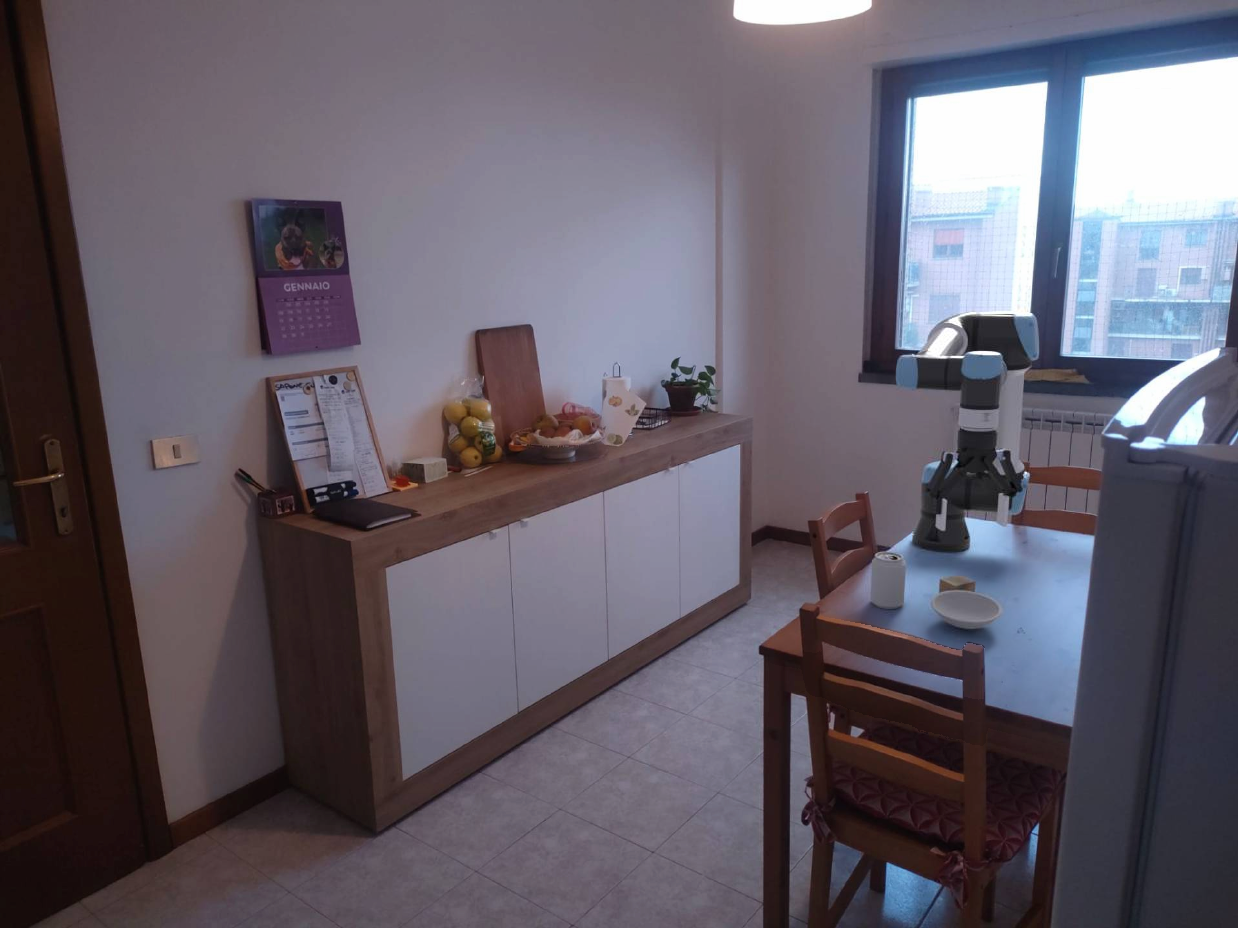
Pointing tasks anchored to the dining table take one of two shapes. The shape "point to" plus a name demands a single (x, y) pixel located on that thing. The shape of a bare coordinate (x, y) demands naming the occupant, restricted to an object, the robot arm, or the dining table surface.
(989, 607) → the dish
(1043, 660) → the dining table surface
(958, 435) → the robot arm
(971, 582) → the walnut block
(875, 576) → the can
